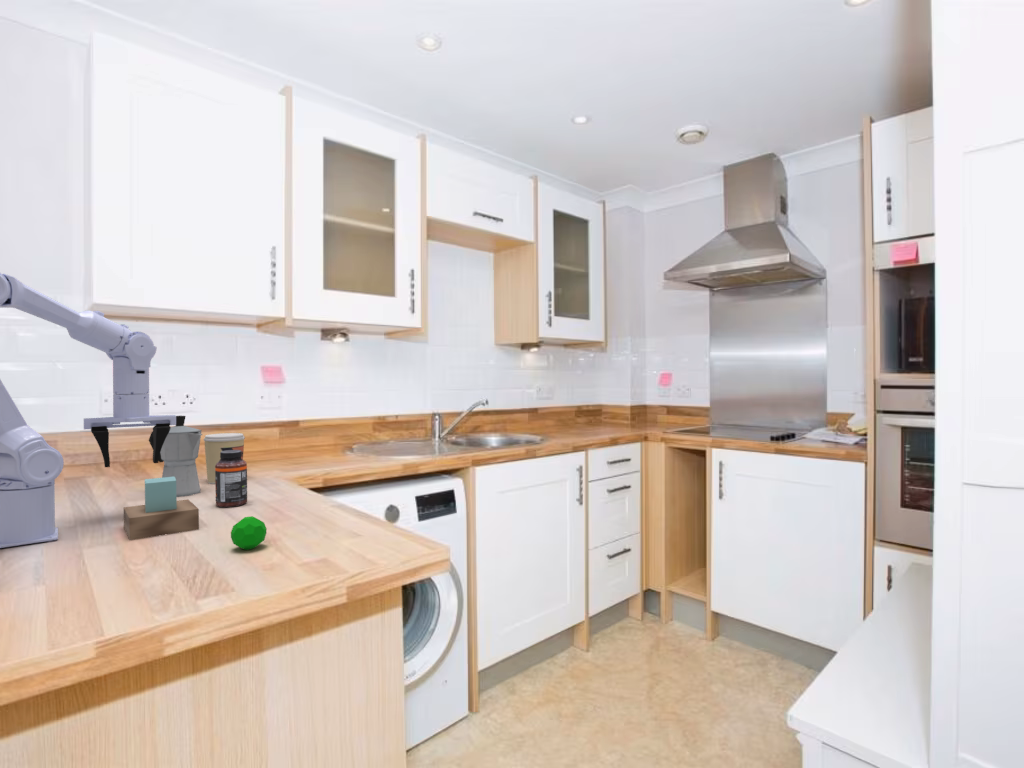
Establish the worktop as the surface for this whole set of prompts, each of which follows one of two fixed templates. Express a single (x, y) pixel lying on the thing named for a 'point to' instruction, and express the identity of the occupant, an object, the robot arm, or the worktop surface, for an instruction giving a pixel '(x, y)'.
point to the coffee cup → (220, 449)
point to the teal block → (160, 494)
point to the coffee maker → (181, 457)
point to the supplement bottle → (231, 479)
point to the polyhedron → (248, 533)
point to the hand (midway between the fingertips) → (132, 464)
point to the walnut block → (160, 520)
